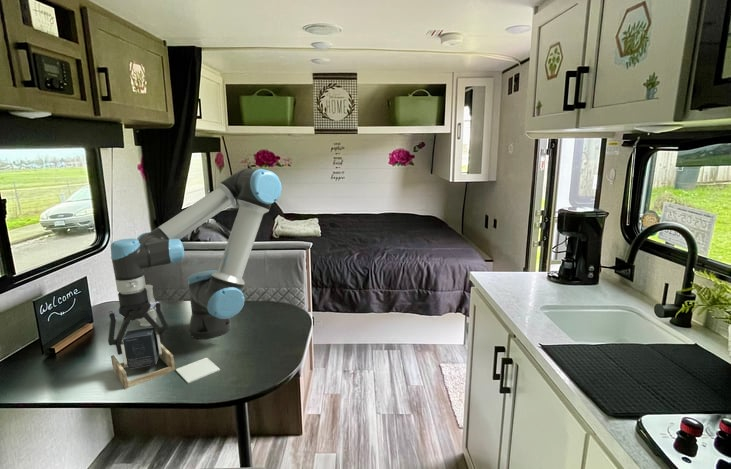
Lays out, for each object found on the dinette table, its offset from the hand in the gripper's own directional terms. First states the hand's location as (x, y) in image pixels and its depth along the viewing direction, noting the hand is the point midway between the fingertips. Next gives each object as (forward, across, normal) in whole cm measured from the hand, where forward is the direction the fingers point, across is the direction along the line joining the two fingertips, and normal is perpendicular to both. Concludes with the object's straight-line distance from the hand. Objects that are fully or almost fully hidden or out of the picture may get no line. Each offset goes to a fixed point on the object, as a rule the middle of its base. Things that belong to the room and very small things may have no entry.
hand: (142, 357), depth 126 cm
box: (+2, 0, 0) cm, 2 cm away
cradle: (+4, 0, 0) cm, 4 cm away
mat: (+4, +13, -11) cm, 18 cm away
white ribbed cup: (+5, +6, +38) cm, 39 cm away
